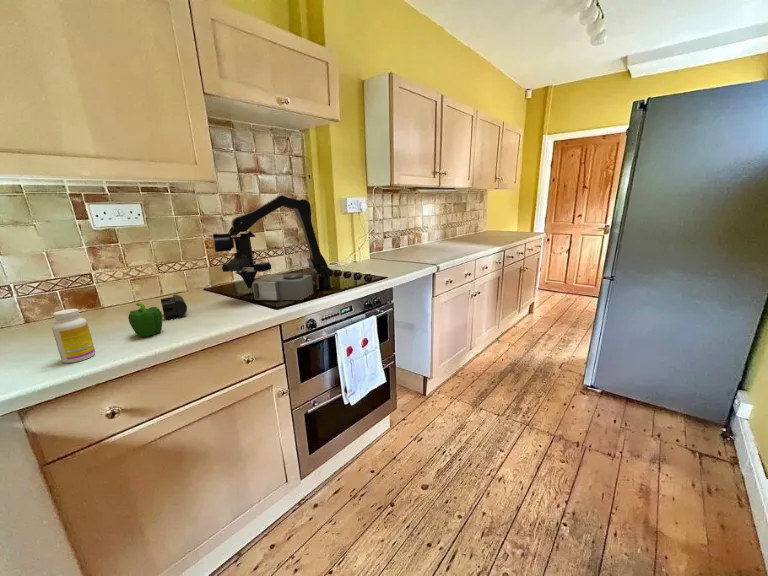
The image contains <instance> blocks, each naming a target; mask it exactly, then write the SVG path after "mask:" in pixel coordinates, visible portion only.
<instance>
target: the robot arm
mask: <svg viewBox="0 0 768 576" xmlns="http://www.w3.org/2000/svg"><path fill="white" fill-rule="evenodd" d="M281 207H284V208H287V209H290V210H293V212H294V214H295V216H296V217H297V219H298V221H299V222H300V224H301V228H302V232H303V234H304V238H305V241H306V245H307V248H308V251H309V258H306V261H307V262H308V267H309V268H310V269H311V270H312V271H313V272H314V274H315V275H317V283H318V285H317V286H318V287H316V288H315V290H316V291H330V290H332V289H333V288H335V285H332V281H331V279H332V278H331V277H332V276H333V274H334V271H333V270H332V269H331V268H330V267H328V264H327V261H326V259H325V257H324V256H323V254H322V253H321V251H320V248H319V244H318V240H317V236H316V233H315V230H314V227H313V224H312V208H311V204H310V201H308V200H307V199H304V198H303V199H295V198H292V197H288V196H285V195H277V196H276V197H275V198H273V199H272V200H269V201H268V202H266V203H265V204H263V205H261V206H259V207H258V208H255V209H254V210H252V211H250V212H247V213H245V214H244V213H243V214H241V215H238V216H236V217H235V216H234V218H232V220H231V223H230V224H231V227H230V229H229V230H228V231H227V233H213V234H212V239H213V249H214V252H215V253H220V252H222V253H223V252H231V251H232V249H234V248H235V251H236V252H235V253H234V255H233V256H234V257H233V258H232V259H230V261H228V262H227V263H224V264H222V266H221V270H222V272H224V273H225V272H226V273H229V272H230V273H231V272H234V273H235V274H236V275H239V276H240V277H241V278H242V280H243V282H244V284H245V285H246V287H247V288H248V289H251V288H253V284H252V282H254V280H255V278H256V275H257V273H262V272H267V271H271V270H272V265H271V263H270V262H267V261H265V262H263V261H261V262H258V263H257V261H256V260H254V256H253V255H255V250H252V249H253V248H252V241H251V238H256V234H254V233H253V232H252V231H251V230H249V229H250V228H252V227H253V226H254V225H255V224H256V223H257V222H258V221H259V220H261V219H262V218H264V217H266V216H268V215H270V214H272V212H274V211H276V210H278V209H280V208H281ZM247 231H248V232H247ZM245 232H246V233H245ZM238 234H239V235H238ZM237 235H238V236H237Z"/></svg>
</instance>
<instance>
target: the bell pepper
mask: <svg viewBox="0 0 768 576" xmlns="http://www.w3.org/2000/svg"><path fill="white" fill-rule="evenodd" d="M135 305H136V306H137V307H139V309H137V310H135V309H134V310H130V311H129V314H128V317H127V318H128V323H129V325H130V327H131V329H132V330H133V331H134V333H135V334H136V335H137V336H138V337H140V338H148V337H151V336H154V335H155V334H158V333H161V332H162V328H163V317H164V316H163V313H162V312H163V311H161V310H160V308H158V307H157V306H151V307H149V308H146V306H145V304H144V303H142V302H136V303H135Z"/></svg>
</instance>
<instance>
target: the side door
mask: <svg viewBox="0 0 768 576" xmlns="http://www.w3.org/2000/svg"><path fill="white" fill-rule="evenodd" d="M252 290H253V296H254V297H253V298H254V300H255V301H280V300H279V299H280V298H279V290H278V282H271V281H255V282H254V281H253V282H252Z"/></svg>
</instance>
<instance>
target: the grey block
mask: <svg viewBox="0 0 768 576" xmlns="http://www.w3.org/2000/svg"><path fill="white" fill-rule="evenodd" d="M255 281H271V282H278V290H279V298H280V299H279V300H278V301H283V300H302V299H303V300H305V299H307V298H308V297H309V295H310V296H312V295H313V294H314V292H315V291H314V283H313V275H312V274H303V273H301V272H293V273H287V274H267V275H265V276H263V277H260V278H257V279H254V281H253V282H255ZM304 298H305V299H304ZM303 300H302V301H303Z"/></svg>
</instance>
